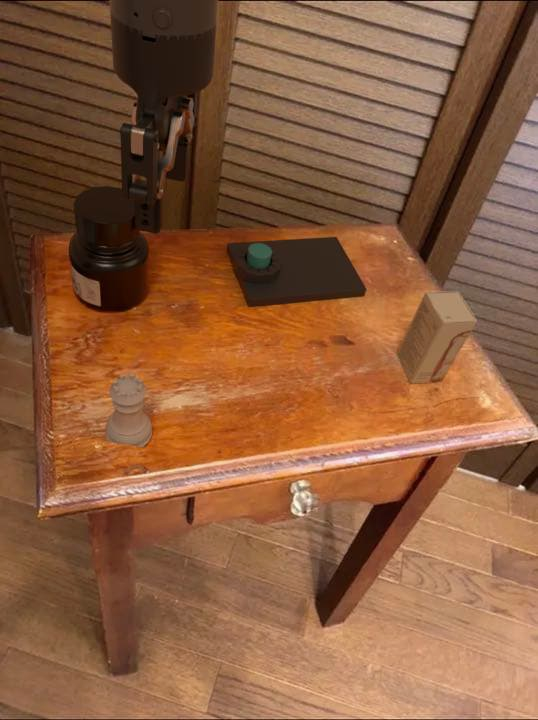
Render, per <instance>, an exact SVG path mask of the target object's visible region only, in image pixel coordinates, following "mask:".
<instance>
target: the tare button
mask: <svg viewBox="0 0 538 720" xmlns="http://www.w3.org/2000/svg"><path fill="white" fill-rule="evenodd" d="M271 255H272V250H271V248H270V247H269V246H267V245H265V244H262V243H254V244H252V245H250V246H249V248H248V254H247V263H248V264H249V265H250V266H252V267H255V268H259V269H260V268H266V267H268V266H269V264H270V260H271Z"/></svg>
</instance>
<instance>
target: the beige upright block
mask: <svg viewBox="0 0 538 720" xmlns="http://www.w3.org/2000/svg"><path fill="white" fill-rule="evenodd" d="M477 322H478V320H477V318H476V316H475V314H474V313H473V311H472V309H471V308H470V306H469V305H468V303H467V302H466V300H465V298H464V297H463V296H462V294H461V293H460V292H459V291H425V292H424V294H423V297H422V299H421V301H420V303H419V304H418V307H417V309H416V311H415V314H414V315H413V318H412V320H411V322H410V324H409V326H408V328H407V331H406V333H405V335H404V337H403V339H402V341H401V343H400V345H399V347H398V349H397V351H396V355H397V358H398V361H399V362H400V364H401V367H402V368H403V371H404V373H405V374H406V377H407V378H408V380H409V382H410V384H428V383H429V384H430V383H441V382H443V381H444V379H445V378H446V376H447V374H448V373H449V371H450V369H451V367H452V365H453V363H454V362H455V360H456V358H457V357H458V354H459V353H460V352H461V350H462V348H463V346H464V345H465V343H466V341H467V340H468V338H469V336H470V335H471V333H472V331H473V329H474V328H475V326H476V324H477Z"/></svg>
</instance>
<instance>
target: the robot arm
mask: <svg viewBox="0 0 538 720" xmlns="http://www.w3.org/2000/svg"><path fill="white" fill-rule="evenodd" d="M218 9H219V0H109V15H110V33H111V34H110V35H111V51H112V52H111V53H112V67H113V71H114V74H115V75H116V76H117V78H118V79H119V80H120V81H121V82H122V83H123V84H125V85H127V86H128V87H129V88H131V90H133V91H134V93H135V94H136V95H137V99H136V101H134V102H133V104H132V105H133V106H132V111H131V116H130V121H131V123H127V122H123V123H122V124H121V127H120V130H119V135H120V166H121V168H120V171H121V173H120V174H121V189H122V197H123V198H124V199H130V200H134V205H135V226H136V228H137V229H138V230H140V232H146V233H149V234H153V235H157V234H159V233H160V232H161V230H162V229H163V209H164V205H163V204H164V203H163V202H164V199H163V197H164V192H165V189H164V188H165V181H166V179H168V180H173V181H177V182H184V181H185V180H186V178H187V176H188V165H189V144H190V143H191V141H192V139H193V136H194V135H193V129H194V128H195V127H196V125H197V123H198V101H199V100H198V99H199V93H200V92H201V91H203V90H204V89H206V88H207V87H209V85H210V83H211V82H212V80H213V78H214V67H215V53H216V51H215V50H216V37H217V26H218V25H217V23H218ZM159 152H162V156H159V155H158V154H159ZM142 177H143V178H145V179H142Z"/></svg>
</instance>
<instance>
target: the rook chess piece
mask: <svg viewBox="0 0 538 720" xmlns="http://www.w3.org/2000/svg"><path fill="white" fill-rule="evenodd" d="M118 377H119V378H114V381H113V382H112V383H111V385H110V386H109V388H108V389H109V391H108V392H109V397H110V398H111V400H112V406H113V408H114V411H113V412H112V414H110V415H109V417H108V420H107V421H106V424H105V438H106V440H107V442H108V443H114V444H120V445H125V446H132V447H138V448H144V447H145V446H146V445H147V444H148V443H149V442H150V440H151V437H152V435H153V429H152V421H151V419H150V417H149V415H148V414H147V412H145V410H144V409H143V407H144V403H145V397H146V395H147V393H148V391H147V386H146V384H145V383H144V382H143V380H142V379H141V378H140V377H136V374H134V373H131V372H129V376H126V374H125V373H122V374H119V375H118Z"/></svg>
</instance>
